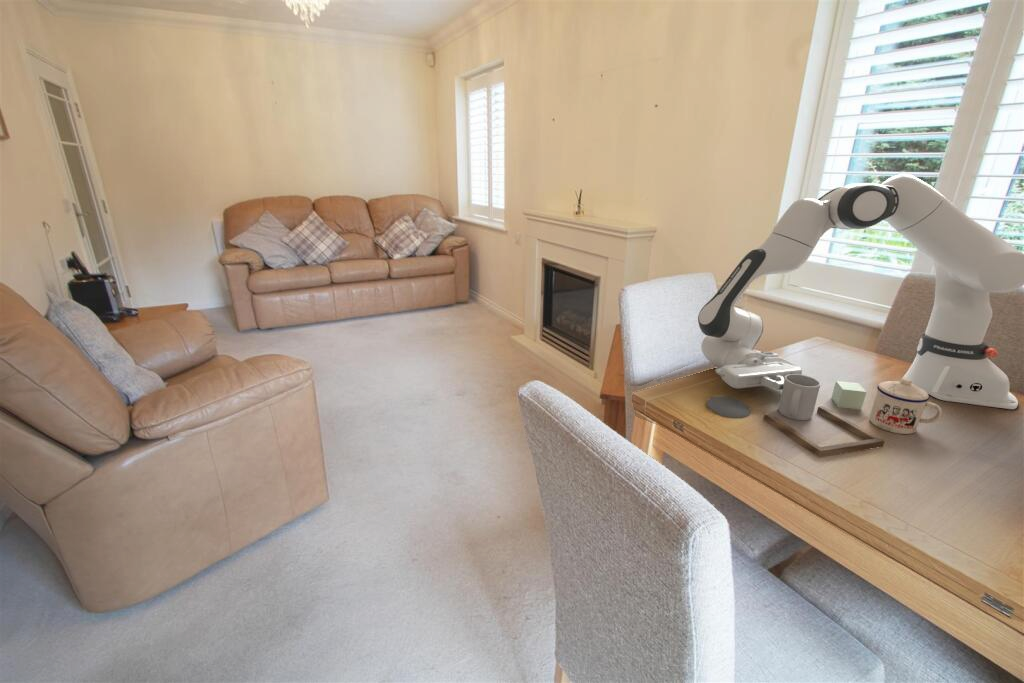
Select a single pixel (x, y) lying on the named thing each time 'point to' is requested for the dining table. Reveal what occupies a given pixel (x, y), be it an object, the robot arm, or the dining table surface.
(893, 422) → the teacup with lid
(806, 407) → the cup
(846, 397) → the sage box
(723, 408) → the slate coaster
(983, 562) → the dining table surface
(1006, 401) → the robot arm
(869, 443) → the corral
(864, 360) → the dining table surface
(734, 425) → the dining table surface
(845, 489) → the dining table surface
